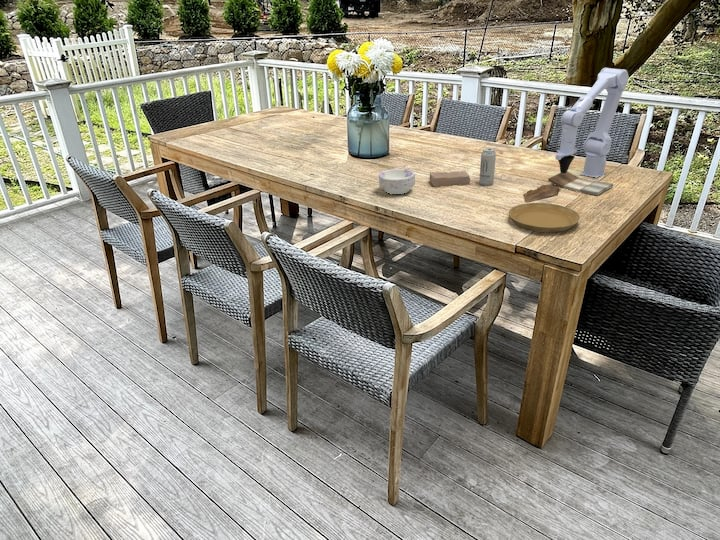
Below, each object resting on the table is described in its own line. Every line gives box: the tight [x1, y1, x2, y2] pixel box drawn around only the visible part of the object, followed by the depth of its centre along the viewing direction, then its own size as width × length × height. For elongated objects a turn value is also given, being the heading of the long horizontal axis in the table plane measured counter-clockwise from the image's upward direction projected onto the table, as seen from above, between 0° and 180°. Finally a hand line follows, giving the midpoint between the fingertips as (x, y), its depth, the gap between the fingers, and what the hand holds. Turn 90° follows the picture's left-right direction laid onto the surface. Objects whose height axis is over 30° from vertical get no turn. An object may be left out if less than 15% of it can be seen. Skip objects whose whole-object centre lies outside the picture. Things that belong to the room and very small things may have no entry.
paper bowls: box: [378, 168, 416, 195], centre depth 217 cm, size 15×15×8 cm
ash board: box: [562, 177, 596, 193], centre depth 216 cm, size 14×7×1 cm, turn 133°
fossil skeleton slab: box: [522, 184, 561, 204], centre depth 210 cm, size 26×11×1 cm, turn 129°
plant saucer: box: [508, 202, 581, 233], centre depth 184 cm, size 24×24×3 cm
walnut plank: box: [547, 171, 580, 189], centre depth 220 cm, size 14×7×1 cm, turn 133°
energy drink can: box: [478, 147, 497, 187], centre depth 220 cm, size 6×6×15 cm
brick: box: [428, 170, 471, 188], centre depth 225 cm, size 17×8×5 cm, turn 96°
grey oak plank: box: [579, 180, 614, 196], centre depth 211 cm, size 14×7×1 cm, turn 133°
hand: (563, 172), depth 219 cm, fingers closed
